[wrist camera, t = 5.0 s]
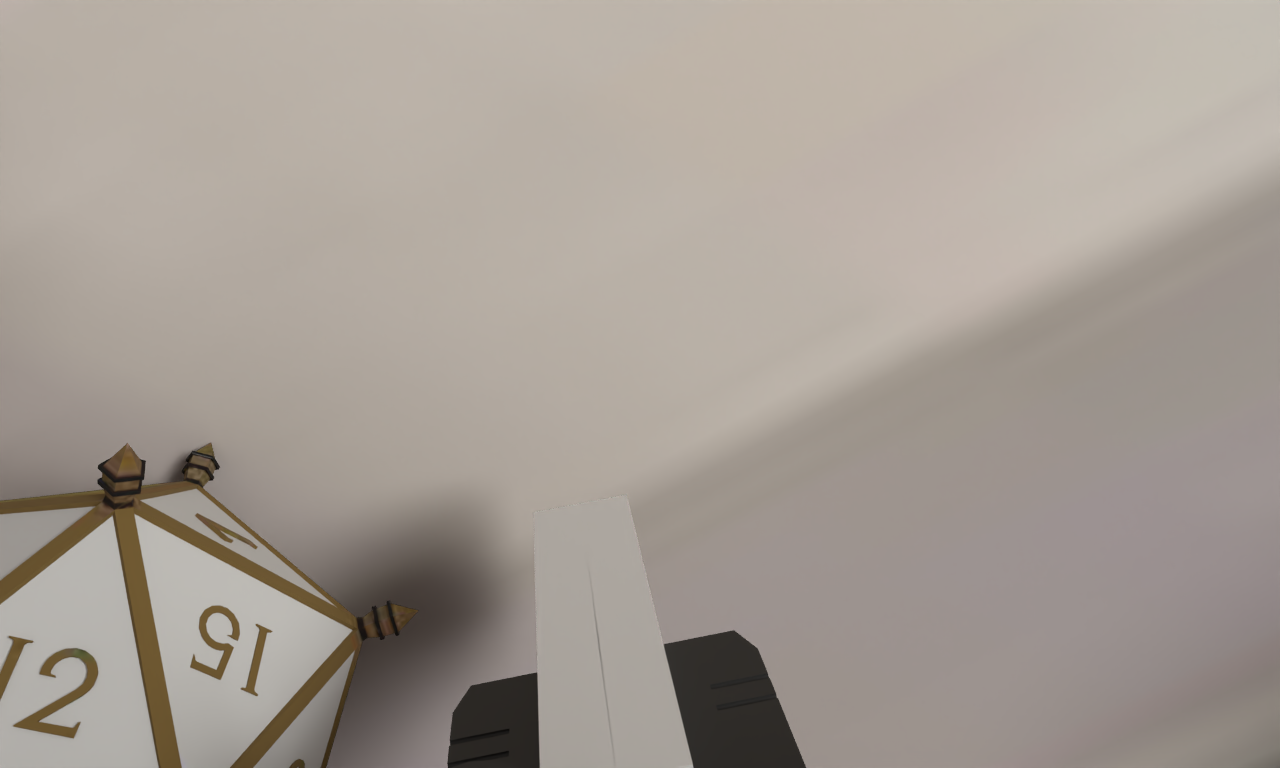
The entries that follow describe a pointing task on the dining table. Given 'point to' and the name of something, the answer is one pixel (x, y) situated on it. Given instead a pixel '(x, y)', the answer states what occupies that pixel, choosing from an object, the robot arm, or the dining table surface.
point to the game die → (165, 632)
